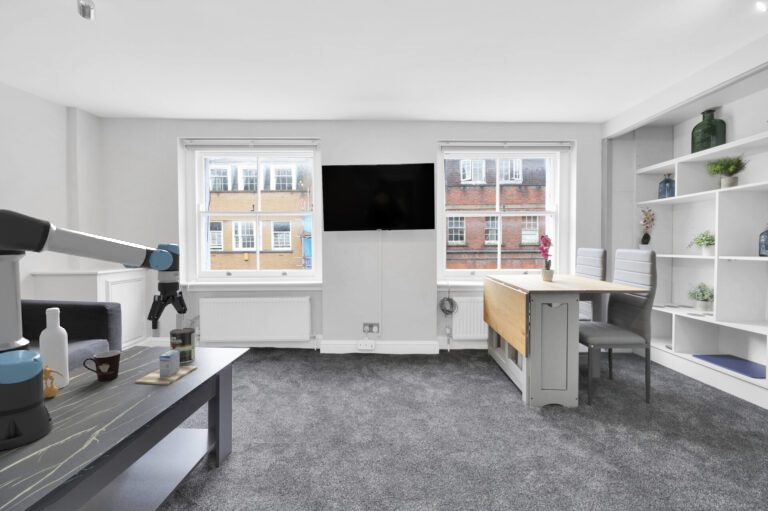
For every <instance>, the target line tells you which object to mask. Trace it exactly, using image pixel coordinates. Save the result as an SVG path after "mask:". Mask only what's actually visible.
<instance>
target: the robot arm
mask: <svg viewBox="0 0 768 511" xmlns="http://www.w3.org/2000/svg"><path fill="white" fill-rule="evenodd" d="M26 252H32V253H38V254H41V253H43V252H52V253H53V252H54V253H56V254H57V253H59V254H64V255H70V256H74V257H75V256H76V257H79V258H87V259H91V260H97V261H104V262H108V263H109V262H110V263H114V264H121V265H123V267H124V268H125V269H145V270H153V271H157V281H158V283H157V291H158V292H159V293H160V294H154V295H153V299H152V304H151V306H150V309H149V312H148V314H147V317H146V319H147V321H151V329H152V338H161V320H160V318H161V316H162V314H163V313H164V310H165V308H166V307H168V305H172V307H173V308H174V309H175V311H176V315H175V329H183V328H184V314H186V313H187V312H188V307H187V305H186V302H185V299H184V295H183V291H181V290H180V282H179V280H180V247H179V245H178V244H176V243H159V244H158V245H157V248H153V247H149V246H144V245H140V244H136V243H130V242H126V241H122V240H118V239H114V238H110V237H109V238H108V237H105V236H100V235H95V234H90V233H86V232H82V231H79V230H78V231H77V230H74V229H73V230H72V229H68V228H64V227H59V226H55V225H53V223H52V222H51V221H48V220H45V219H40V218H37V217H33V216H29V215H27V214H24V213H21V212H18V211H14V210H11V209H3V208H0V450H1V451H6V450H5V449H7V450H10V449H15V448H18V447H21V446H25V445H27V444H29V443H32V442H34V441H38V440H39V439H41V438H43V437H45V436H46V435H48V434H49V433H50V432H51V431H52V430H53V427H54V425H53V418H52V417H51V414H50V412H49V411H48V409H47V406H46V405H45V400H44V398H45V396H44V392H43V391H44V390H43V364H44V363H43V360H42V356H41V355H40V352H38V351H35V350H31V345H30V343H31V342H30V340H29V339H27V338H25V337H24V336H23V322H22V321H23V320H22V319H23V318H22V301H21V299H22V298H21V296H22V295H21V294H22V293H21V278H20V260H21V259H23V258H24V257H25V256H26Z"/></svg>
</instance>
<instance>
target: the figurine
mask: <svg viewBox="0 0 768 511" xmlns="http://www.w3.org/2000/svg"><path fill="white" fill-rule="evenodd" d="M51 372H55V373H58V374H59V375H61V376H62V377H63V375H62V374H61V373H59V372H58V371H55V370H51V369H50V368H49V366H48V365H47V366H46V367H45V368H44V369H43V375H44V376H43V379H44V381H46V382H45V385H46V388H45V390H43V392H44V398H45V397H46V398H49V399H50V398H54V397H56V396H57V394H59V389H58V388H57V387H56V386H54V385H52V383H53V381H54V378H53V376H52V375H51V376H50V373H51ZM48 378H49V379H50V380H52V381H51V386H48V385H47V380H48Z"/></svg>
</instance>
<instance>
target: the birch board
mask: <svg viewBox="0 0 768 511" xmlns="http://www.w3.org/2000/svg"><path fill="white" fill-rule="evenodd" d="M197 369H198V366H197V365H196V366H194V365H193V366H191V365H180V370H178V371H177V372H176V373H175V374H173V375H172V376H171V377H160V368H158V369H157V370H155V371H153V372H150V373H149V374H146V375H144V376H142V377H140V378H139V379H136V380H135V381H134V383H135V384H145V385H147V384H149V385H166V386H169V385H171V384H172V383H175V382H176V381H178V380H179V379H182V378H183V377H185V376H187V375H188V374H189V373H190V374H191V373H192V372H194V371H195V370H197Z"/></svg>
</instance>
